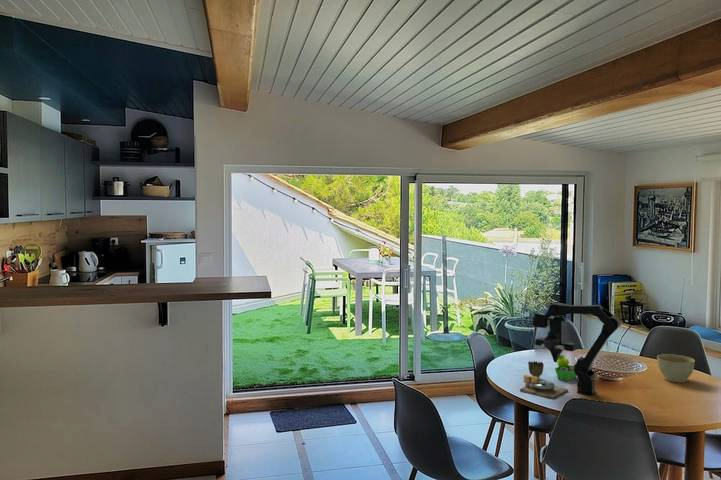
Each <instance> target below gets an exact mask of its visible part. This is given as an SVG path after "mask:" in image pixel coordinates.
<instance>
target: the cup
mask: <svg viewBox="0 0 721 480" xmlns="http://www.w3.org/2000/svg"><path fill="white" fill-rule="evenodd" d="M527 364H528V372H529V375H531V376H535V377H538V380H539V379H540V378H541V377H540V376H542V375H543V372H544V364H545V363H543V362H542V361H535V360H534V361H533V360H532V361H528V363H527Z"/></svg>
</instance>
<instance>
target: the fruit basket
mask: <svg viewBox="0 0 721 480" xmlns="http://www.w3.org/2000/svg"><path fill="white" fill-rule="evenodd" d="M574 367H575V366H574V365H571V364H570V361H569V359H568V358H567V357H565V356H564V355H563V354H560V356H559V358H558V360H557V367H555V368H554V370H555V373H556V376H557V380H558V379H559V380H563V381H571V380H572V379H576V378H577V375H576V374H575V372H574Z"/></svg>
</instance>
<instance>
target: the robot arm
mask: <svg viewBox="0 0 721 480" xmlns="http://www.w3.org/2000/svg"><path fill="white" fill-rule="evenodd" d="M572 314H573V315H574V314H575V315H595V316H596V317H597V318H598V319H599V321H600V322H601V323H602V324H603V325H602V327H601V331H600V332H599V335H598V337H597V338H596V339H595V341H594V342H593V344H592V345H591V348H590V349H588V352H587V353H586V355H585V356H581V357H579V358H578V359H577V361H576V363H575V364H574V365H573V366H575V367H574V372H575V374H576V375H577V376H576V378H577V379H578V381H577V383H576V385H577V390H576V393H578V394H582V395H585V396H593V395H594V394H596V393H597V391H596V389H595V388H596V382H595V381H596V380H595V378H596V373H595V372H594V371H593V369H592V367H593V364H594V361H595V360H596V358H597V357H598V355H599V353H600V352H601V350H602V349H603V347H604V346H605V344H606V343H607V341H608V340H609V338H610V337H611V335H613V334H614V333H615V332H616V331H618V329H619V328H620V327H621V325H622V320H621V318H620V317H619V316H616V315H614V314H613V313H612V312H610V311H609V310H607V309H606V308H604V307H603V306H602V305H601V304H591V305H590V304H583V305H581V304H578V305H577V304H567V303H563V302H554V303H552V304H550V305H549V307H548V309H547V312H546V313H538V312H535V313H534V316H533V319H532V326H533V327H534V328H539V329H540V328H541V329H547V327H549V331H548V333H547V336H546V337H538V338H536V339H535V340H534V345H535V346H540V347H541V346H542V345H543V347H545V348H546V349H547V350H548V351H549V352H550V354H551V357H552V360H553V362H554V363H558V358H559V356H560V355H562V352H563V351H566V352H567V351H568V352H574V351H577V350H578V345H577V343H576V342H575V343H574V342H569V341H568V342H566V343H564V339H563V335H564V330H563V322H567V321H568V319H567V317H565V315H572Z"/></svg>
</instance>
